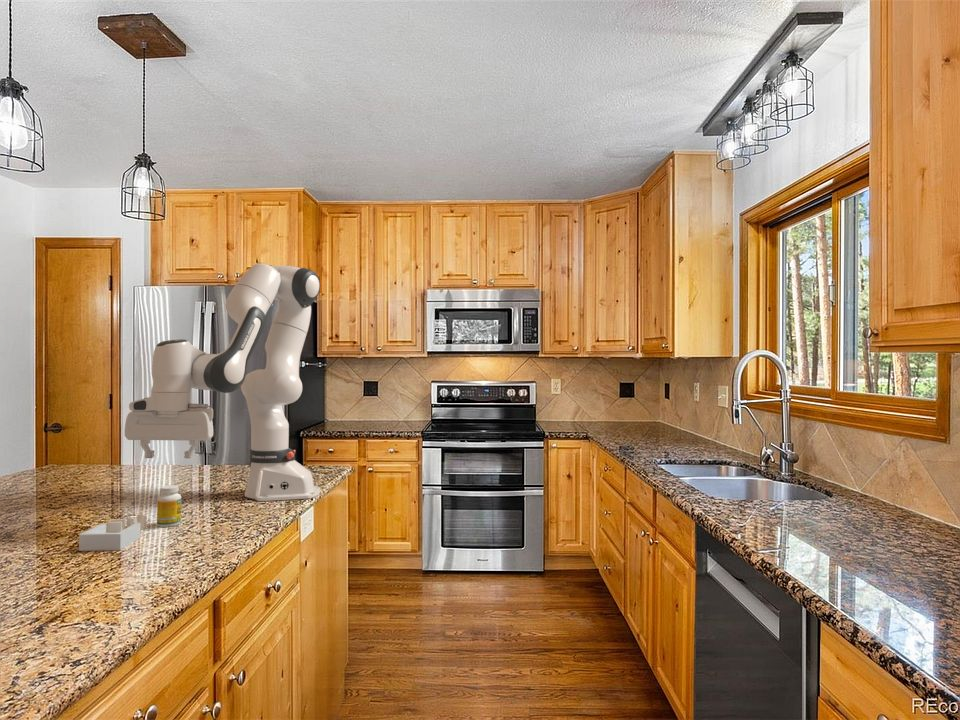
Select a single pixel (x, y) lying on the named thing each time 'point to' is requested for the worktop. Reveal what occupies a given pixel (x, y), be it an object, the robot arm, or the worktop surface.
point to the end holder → (108, 538)
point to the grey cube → (115, 525)
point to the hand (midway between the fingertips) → (169, 458)
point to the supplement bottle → (169, 506)
